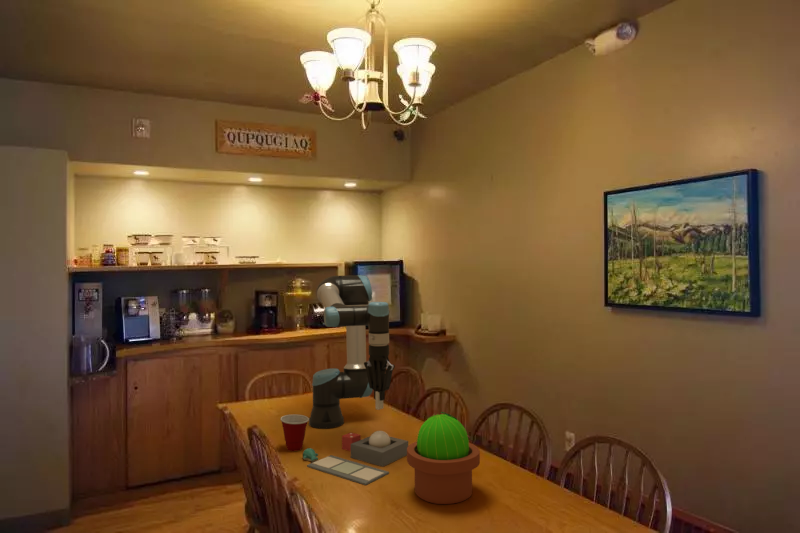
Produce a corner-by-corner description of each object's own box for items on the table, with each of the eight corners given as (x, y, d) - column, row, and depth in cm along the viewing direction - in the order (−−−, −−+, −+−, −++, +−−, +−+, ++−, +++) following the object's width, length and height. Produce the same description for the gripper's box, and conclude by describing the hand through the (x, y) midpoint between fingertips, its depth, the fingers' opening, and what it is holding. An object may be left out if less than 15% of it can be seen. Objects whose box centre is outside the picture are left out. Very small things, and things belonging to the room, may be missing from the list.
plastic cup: (303, 454, 209) (303, 422, 209) (276, 452, 212) (275, 421, 211) (313, 444, 220) (313, 414, 220) (287, 443, 222) (287, 412, 222)
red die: (350, 445, 219) (350, 432, 219) (360, 447, 216) (360, 434, 216) (342, 448, 215) (341, 435, 215) (351, 451, 212) (351, 437, 212)
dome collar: (377, 446, 218) (376, 433, 218) (408, 454, 209) (408, 441, 209) (350, 457, 206) (350, 444, 206) (382, 466, 197) (382, 452, 197)
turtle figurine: (314, 455, 209) (314, 445, 209) (322, 461, 203) (322, 451, 203) (299, 458, 206) (299, 448, 206) (307, 465, 200) (307, 454, 200)
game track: (331, 456, 207) (331, 454, 207) (389, 473, 191) (389, 471, 191) (307, 466, 198) (306, 464, 198) (365, 485, 181) (365, 482, 181)
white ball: (378, 447, 213) (378, 426, 213) (395, 451, 208) (394, 430, 208) (364, 453, 207) (364, 431, 206) (381, 458, 202) (381, 436, 202)
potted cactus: (430, 514, 160) (430, 427, 160) (395, 486, 180) (394, 408, 179) (493, 498, 171) (493, 416, 170) (453, 474, 190) (453, 400, 190)
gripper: (358, 344, 207) (359, 408, 208) (386, 347, 200) (387, 413, 200) (371, 341, 213) (372, 404, 214) (399, 344, 205) (399, 409, 206)
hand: (379, 408), depth 207 cm, fingers closed
